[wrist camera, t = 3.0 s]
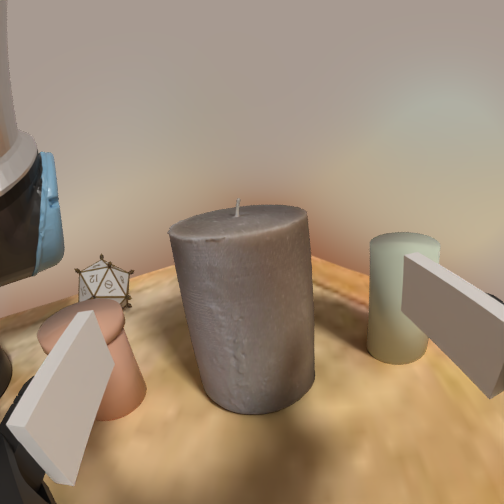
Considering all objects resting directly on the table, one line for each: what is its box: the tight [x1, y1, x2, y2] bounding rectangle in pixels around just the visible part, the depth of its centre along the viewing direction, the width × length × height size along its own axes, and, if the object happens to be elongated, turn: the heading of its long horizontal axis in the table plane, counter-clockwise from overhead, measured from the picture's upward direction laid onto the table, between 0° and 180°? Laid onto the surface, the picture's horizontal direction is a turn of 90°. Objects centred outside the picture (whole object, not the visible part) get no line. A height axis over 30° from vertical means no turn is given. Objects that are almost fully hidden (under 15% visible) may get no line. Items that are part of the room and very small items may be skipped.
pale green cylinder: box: [367, 232, 440, 365], centre depth 25 cm, size 6×6×10 cm
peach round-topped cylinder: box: [37, 298, 147, 421], centre depth 24 cm, size 8×8×8 cm
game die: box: [75, 254, 134, 308], centre depth 39 cm, size 9×8×10 cm
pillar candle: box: [168, 198, 315, 414], centre depth 24 cm, size 10×10×15 cm
